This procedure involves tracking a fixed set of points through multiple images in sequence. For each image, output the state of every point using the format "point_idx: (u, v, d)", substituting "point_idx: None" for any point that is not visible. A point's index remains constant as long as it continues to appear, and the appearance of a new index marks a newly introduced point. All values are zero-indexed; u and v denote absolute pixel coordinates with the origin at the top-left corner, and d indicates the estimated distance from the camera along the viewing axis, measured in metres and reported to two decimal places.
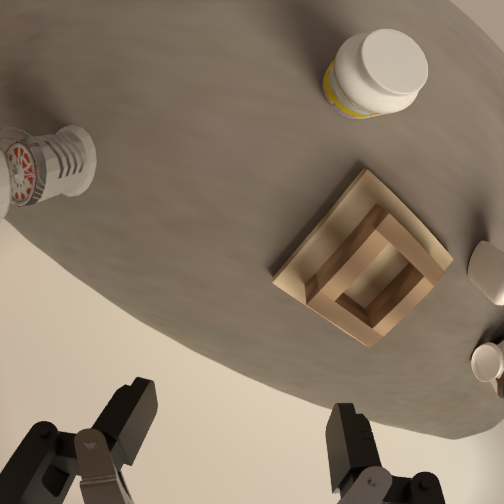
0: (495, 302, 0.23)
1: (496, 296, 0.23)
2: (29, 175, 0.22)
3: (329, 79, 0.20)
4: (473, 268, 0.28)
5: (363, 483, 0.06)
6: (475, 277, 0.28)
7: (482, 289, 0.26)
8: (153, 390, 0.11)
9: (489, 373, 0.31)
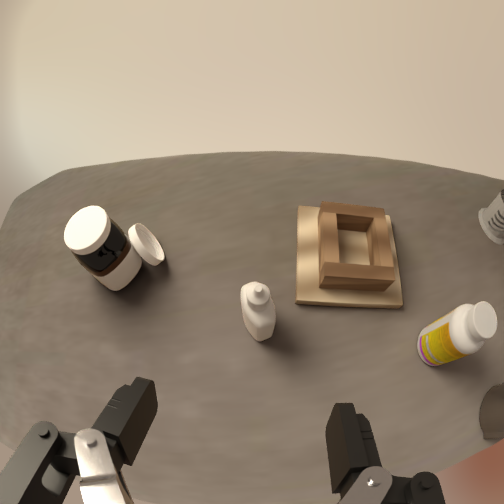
0: (257, 282, 0.33)
1: None
2: None
3: None
4: None
5: (363, 483, 0.06)
6: None
7: None
8: (153, 390, 0.11)
9: None
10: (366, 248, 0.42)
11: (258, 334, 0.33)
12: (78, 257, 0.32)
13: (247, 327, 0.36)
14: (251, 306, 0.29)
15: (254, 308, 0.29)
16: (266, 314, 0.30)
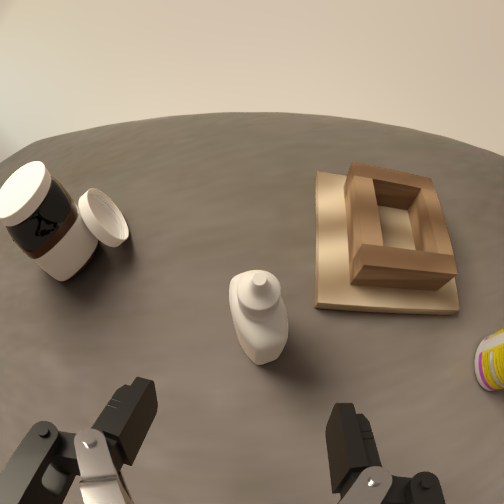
0: None
1: None
2: None
3: None
4: None
5: (363, 483, 0.06)
6: None
7: None
8: (153, 390, 0.11)
9: (89, 203, 0.27)
10: (410, 231, 0.28)
11: (257, 358, 0.19)
12: (9, 231, 0.19)
13: (240, 344, 0.22)
14: (246, 312, 0.16)
15: (251, 316, 0.16)
16: (272, 327, 0.17)
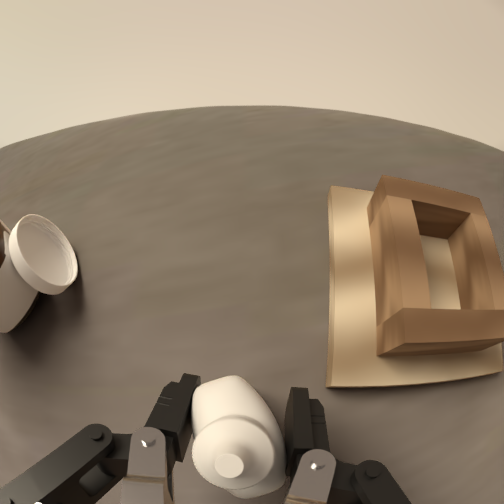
0: (239, 379, 0.11)
1: (255, 392, 0.10)
2: None
3: None
4: None
5: (306, 468, 0.07)
6: None
7: None
8: (199, 385, 0.12)
9: (26, 235, 0.18)
10: (452, 269, 0.19)
11: None
12: None
13: None
14: None
15: None
16: None
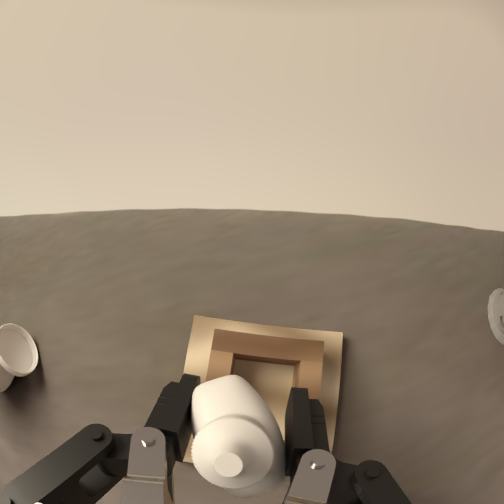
0: (238, 378, 0.11)
1: (255, 391, 0.10)
2: None
3: None
4: None
5: (306, 468, 0.07)
6: None
7: None
8: None
9: (3, 337, 0.24)
10: (288, 393, 0.26)
11: None
12: None
13: None
14: None
15: None
16: None
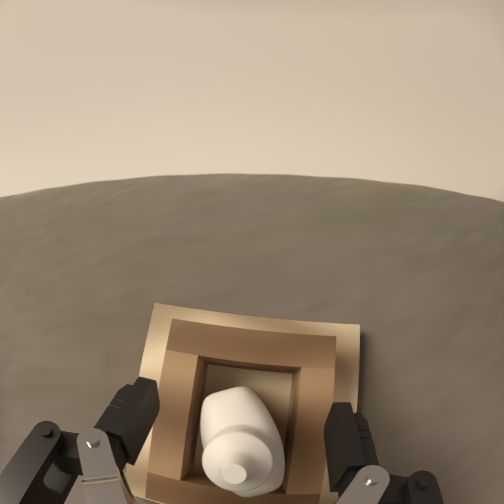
0: (245, 391, 0.11)
1: (260, 403, 0.11)
2: None
3: None
4: None
5: (360, 482, 0.06)
6: (259, 398, 0.16)
7: (251, 390, 0.14)
8: (155, 389, 0.11)
9: None
10: (284, 413, 0.17)
11: None
12: None
13: None
14: None
15: None
16: None
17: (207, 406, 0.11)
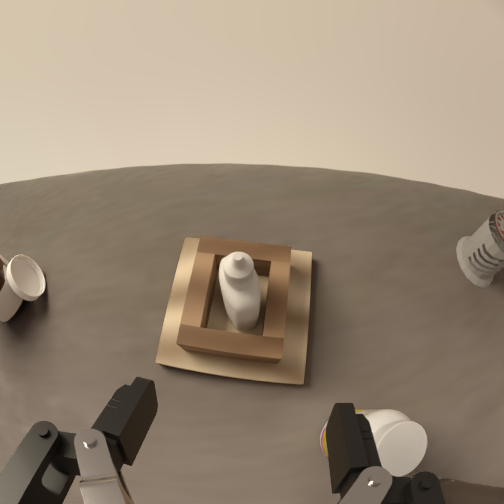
0: None
1: None
2: None
3: None
4: None
5: (363, 483, 0.06)
6: None
7: None
8: (153, 390, 0.11)
9: (16, 266, 0.30)
10: (263, 300, 0.32)
11: (238, 321, 0.26)
12: None
13: (227, 312, 0.29)
14: (229, 281, 0.23)
15: (232, 284, 0.23)
16: (248, 294, 0.24)
17: (223, 259, 0.26)
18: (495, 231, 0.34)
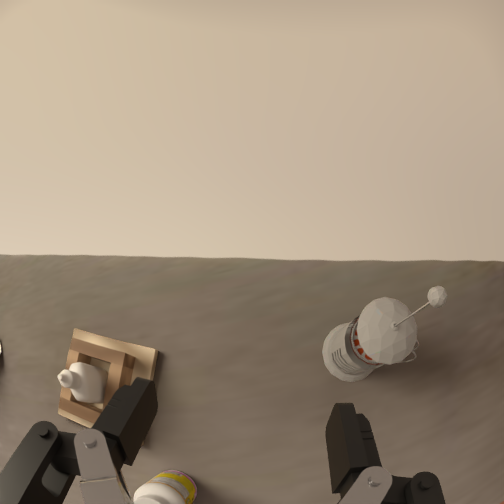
0: (81, 363, 0.31)
1: (84, 368, 0.31)
2: (361, 345, 0.33)
3: (185, 488, 0.26)
4: (106, 378, 0.36)
5: (363, 483, 0.06)
6: (101, 372, 0.36)
7: (92, 367, 0.34)
8: (153, 390, 0.11)
9: None
10: None
11: (87, 401, 0.31)
12: None
13: None
14: None
15: None
16: (79, 392, 0.29)
17: (70, 366, 0.31)
18: None
